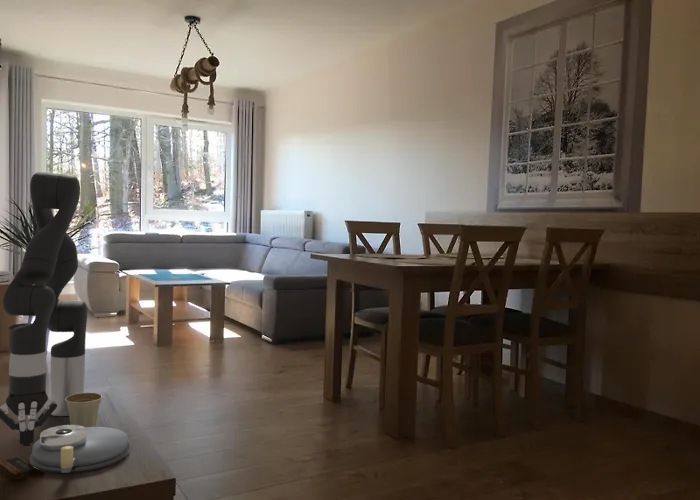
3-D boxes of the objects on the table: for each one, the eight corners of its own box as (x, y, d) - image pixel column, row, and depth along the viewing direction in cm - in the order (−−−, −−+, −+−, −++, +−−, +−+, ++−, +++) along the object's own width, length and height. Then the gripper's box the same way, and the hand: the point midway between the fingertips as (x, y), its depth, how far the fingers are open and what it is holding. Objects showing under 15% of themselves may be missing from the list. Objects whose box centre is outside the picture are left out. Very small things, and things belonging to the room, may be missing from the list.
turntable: (28, 442, 142) (29, 418, 142) (117, 429, 154) (118, 407, 154) (39, 482, 121) (39, 454, 120) (141, 463, 132) (142, 438, 132)
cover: (37, 441, 138) (38, 428, 138) (82, 434, 144) (83, 422, 144) (42, 455, 130) (42, 441, 130) (89, 447, 136) (90, 434, 135)
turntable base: (25, 448, 142) (25, 443, 142) (119, 433, 154) (119, 429, 154) (34, 481, 124) (34, 476, 124) (139, 462, 136) (139, 457, 136)
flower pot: (87, 435, 152) (88, 403, 152) (56, 432, 154) (57, 400, 154) (108, 424, 161) (109, 394, 161) (79, 421, 163) (80, 391, 163)
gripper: (57, 365, 139) (56, 435, 139) (-7, 370, 132) (-8, 444, 132) (61, 372, 133) (59, 445, 133) (-6, 378, 125) (-8, 456, 126)
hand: (26, 445), depth 133 cm, fingers closed
